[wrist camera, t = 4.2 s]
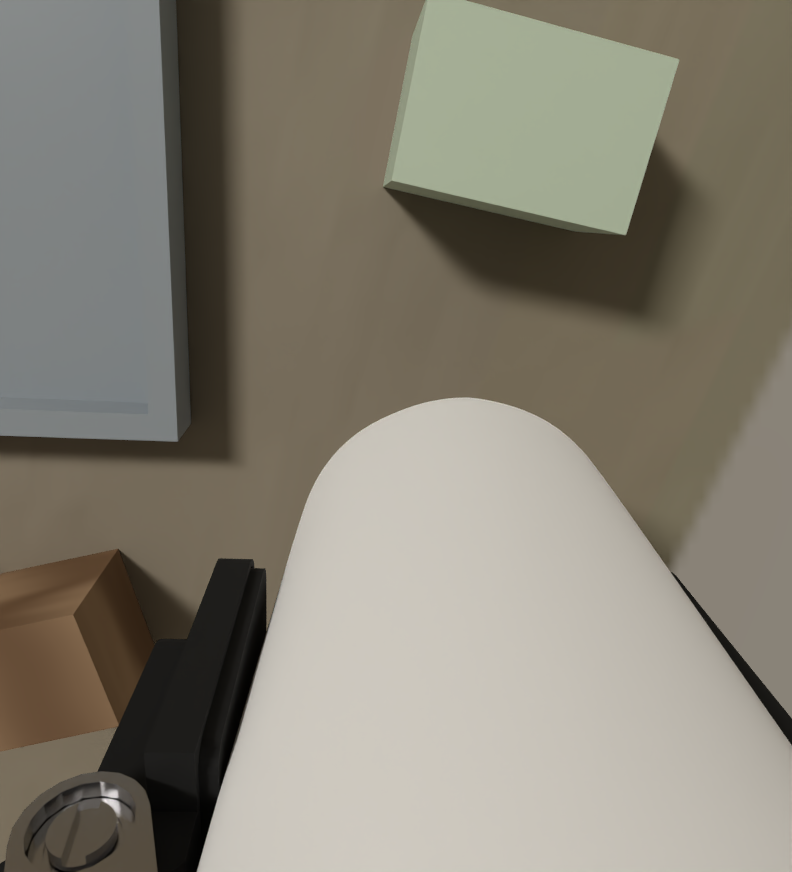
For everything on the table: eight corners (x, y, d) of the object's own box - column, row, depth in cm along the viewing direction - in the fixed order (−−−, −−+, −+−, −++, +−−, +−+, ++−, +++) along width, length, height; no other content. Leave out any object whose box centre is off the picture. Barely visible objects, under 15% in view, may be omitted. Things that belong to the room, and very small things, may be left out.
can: (588, 357, 13) (2069, 1717, 1) (624, 632, 15) (1312, 2000, 4) (263, 428, 13) (-503, 1820, 2) (345, 683, 15) (204, 2012, 4)
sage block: (613, 90, 19) (679, 59, 15) (573, 231, 20) (625, 235, 17) (412, 36, 18) (429, -10, 15) (382, 187, 20) (391, 180, 16)
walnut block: (119, 547, 23) (73, 614, 19) (155, 645, 24) (119, 726, 20) (3, 572, 22) (-67, 643, 19) (45, 668, 24) (-11, 753, 20)
